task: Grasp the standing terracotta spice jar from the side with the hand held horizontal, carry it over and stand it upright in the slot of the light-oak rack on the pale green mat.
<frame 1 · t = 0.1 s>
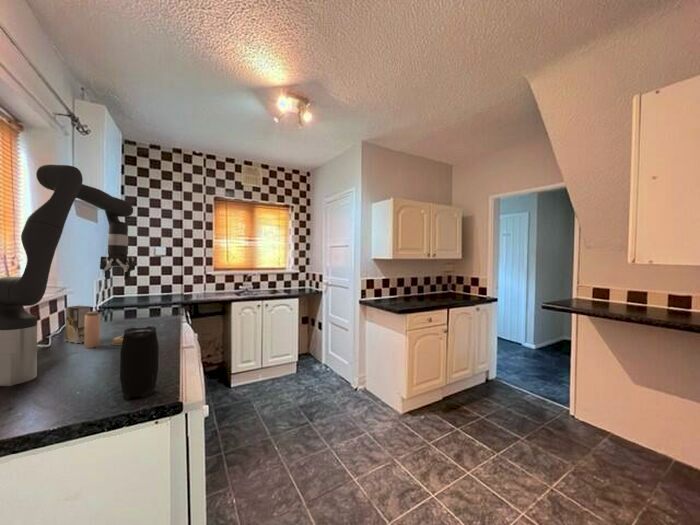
hand: (117, 279, 143), 29 cm above the table, tool pointing down, fingers open, 8 cm apart
coffee box: (79, 341, 143), on the table
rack: (131, 341, 145), on the table
portable speaker: (139, 395, 91), on the table
jar: (92, 346, 135), on the table
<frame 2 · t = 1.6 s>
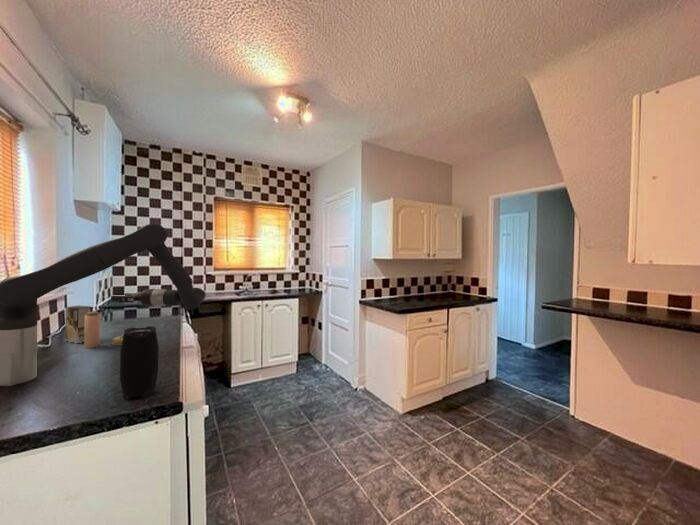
hand: (118, 297, 135), 22 cm above the table, tool horizontal, fingers open, 8 cm apart
nothing on the table moved.
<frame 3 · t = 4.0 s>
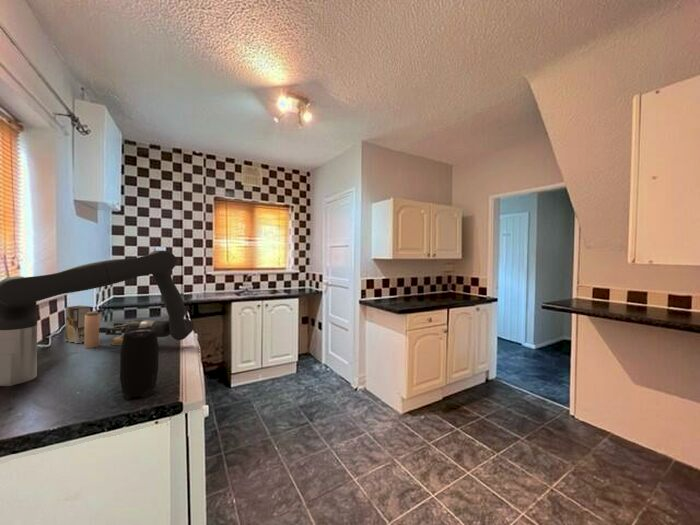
hand: (107, 327, 135), 8 cm above the table, tool horizontal, fingers open, 8 cm apart
nothing on the table moved.
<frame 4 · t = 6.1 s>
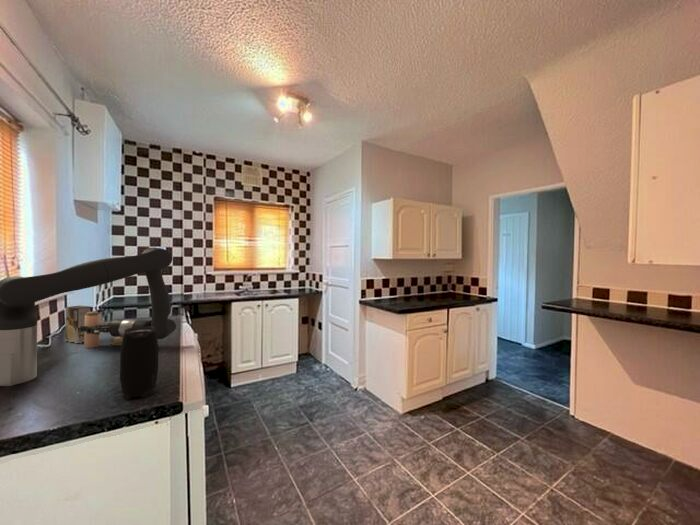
hand: (86, 327, 135), 9 cm above the table, tool horizontal, fingers closed on jar, 5 cm apart
jar: (92, 346, 135), on the table, touching gripper
everything else where it was.
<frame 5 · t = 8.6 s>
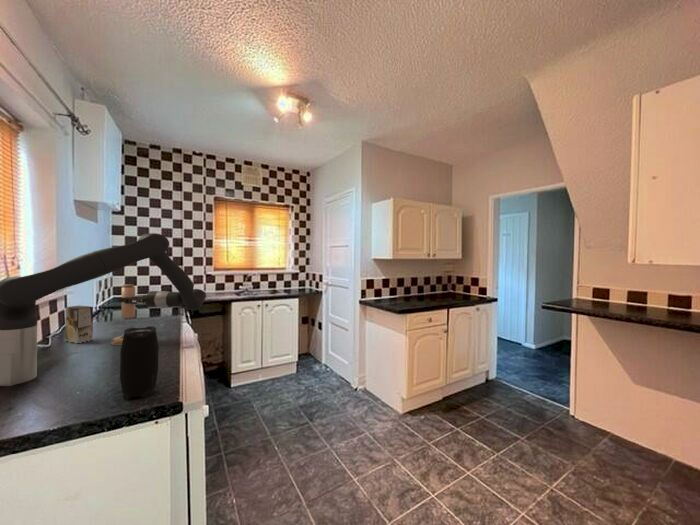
hand: (122, 298, 143), 20 cm above the table, tool horizontal, fingers closed on jar, 5 cm apart
jar: (128, 317, 144), point 12 cm above the table, touching gripper
everything else where it was.
when the fingers open (10 cm above the table, at t = 11.1 s): jar drops 1 cm, resting on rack.
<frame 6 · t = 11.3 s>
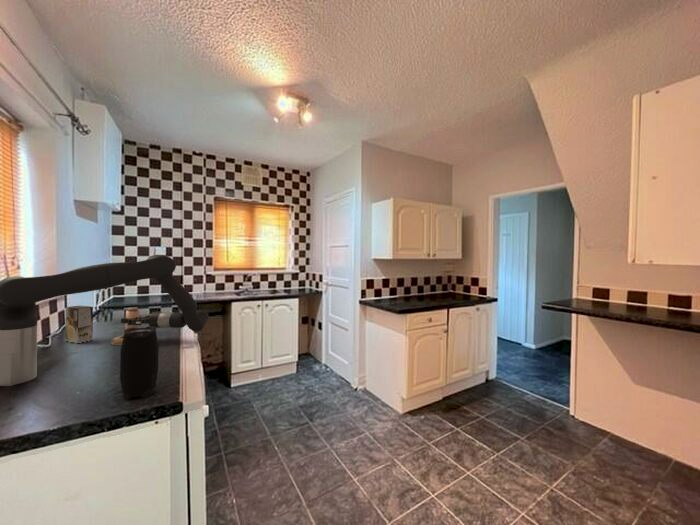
hand: (126, 319, 144), 10 cm above the table, tool horizontal, fingers open, 6 cm apart
jar: (131, 340, 145), point 1 cm above the table, touching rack
everything else where it was.
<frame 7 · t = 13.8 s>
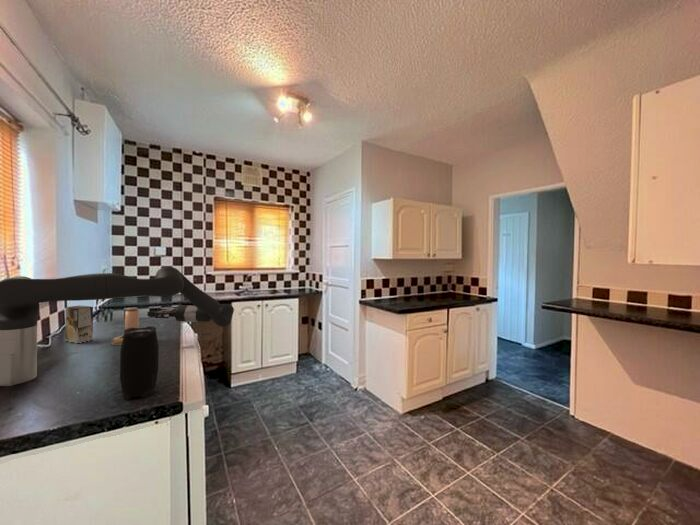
hand: (153, 312, 143), 14 cm above the table, tool horizontal, fingers open, 8 cm apart
nothing on the table moved.
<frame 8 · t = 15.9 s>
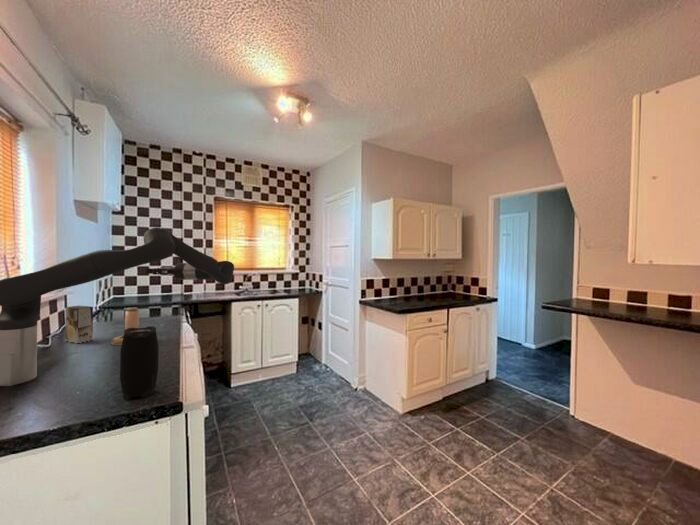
hand: (151, 270, 139), 34 cm above the table, tool horizontal, fingers open, 8 cm apart
nothing on the table moved.
at the end: jar inside the target area (0.1 cm from its centre), point 0.5 cm above the table; jar tilted 0°; the gripper is holding nothing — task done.
